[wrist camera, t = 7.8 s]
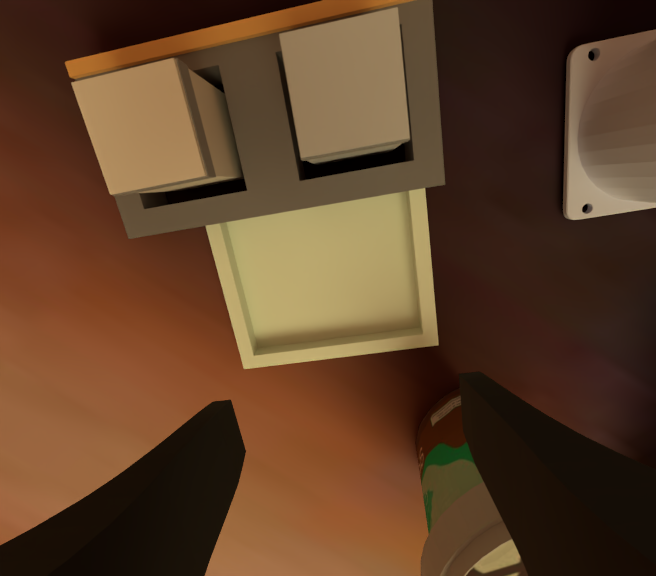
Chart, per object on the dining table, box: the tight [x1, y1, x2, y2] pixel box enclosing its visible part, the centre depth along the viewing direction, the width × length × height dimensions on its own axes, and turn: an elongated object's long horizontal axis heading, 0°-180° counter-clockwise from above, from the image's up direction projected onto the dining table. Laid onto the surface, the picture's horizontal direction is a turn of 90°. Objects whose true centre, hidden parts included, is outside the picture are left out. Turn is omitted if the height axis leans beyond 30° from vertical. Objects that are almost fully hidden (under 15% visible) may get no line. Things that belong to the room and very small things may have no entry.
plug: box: [71, 58, 244, 196], centre depth 16 cm, size 4×4×6 cm
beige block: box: [279, 7, 410, 165], centre depth 15 cm, size 4×4×6 cm
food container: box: [416, 388, 528, 576], centre depth 19 cm, size 12×6×10 cm, turn 27°
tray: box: [206, 188, 439, 369], centre depth 20 cm, size 12×10×1 cm
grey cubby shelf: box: [65, 0, 445, 239], centre depth 17 cm, size 16×8×3 cm, turn 100°
